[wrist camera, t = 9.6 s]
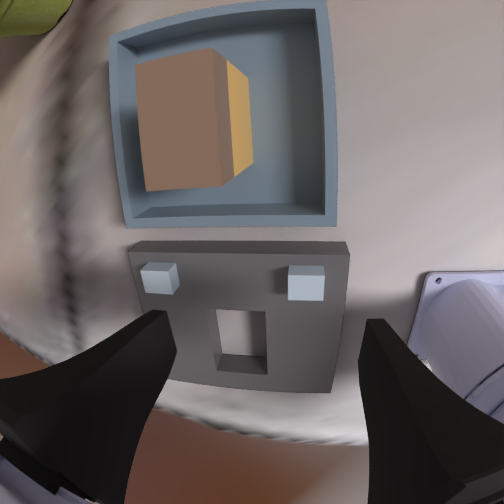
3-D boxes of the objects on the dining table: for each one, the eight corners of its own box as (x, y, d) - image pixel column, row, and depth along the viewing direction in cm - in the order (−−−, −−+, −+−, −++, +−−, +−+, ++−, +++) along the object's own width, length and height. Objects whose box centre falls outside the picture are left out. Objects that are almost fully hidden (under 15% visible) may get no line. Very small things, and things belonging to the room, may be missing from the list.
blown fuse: (248, 78, 14) (212, 47, 8) (253, 163, 16) (221, 186, 10) (197, 84, 15) (134, 64, 9) (203, 165, 17) (146, 191, 10)
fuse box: (345, 241, 18) (353, 264, 15) (329, 375, 23) (330, 404, 20) (141, 240, 20) (118, 259, 17) (172, 363, 25) (159, 387, 22)
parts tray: (322, 18, 13) (326, -1, 10) (331, 210, 17) (336, 226, 15) (134, 45, 15) (109, 36, 12) (148, 213, 19) (126, 228, 17)
